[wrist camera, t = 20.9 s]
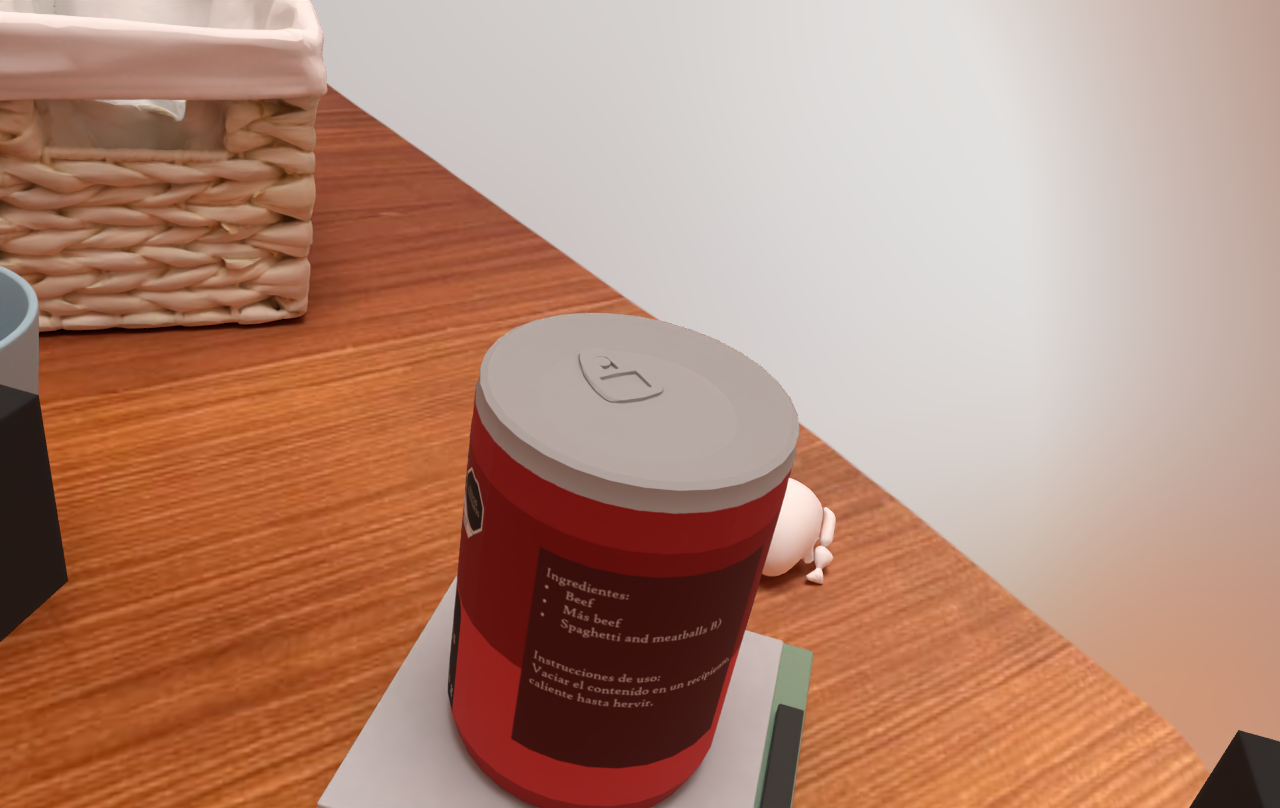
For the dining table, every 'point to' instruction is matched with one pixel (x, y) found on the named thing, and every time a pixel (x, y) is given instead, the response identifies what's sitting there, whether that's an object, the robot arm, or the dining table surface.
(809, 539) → the rabbit figurine
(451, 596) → the scale
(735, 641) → the canned food
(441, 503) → the dining table surface
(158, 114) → the basket
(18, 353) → the cup
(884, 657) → the dining table surface
